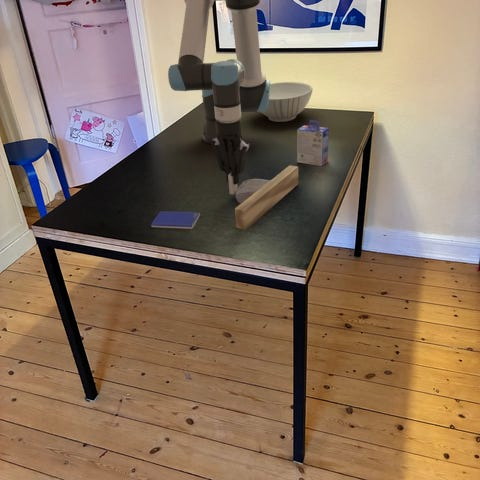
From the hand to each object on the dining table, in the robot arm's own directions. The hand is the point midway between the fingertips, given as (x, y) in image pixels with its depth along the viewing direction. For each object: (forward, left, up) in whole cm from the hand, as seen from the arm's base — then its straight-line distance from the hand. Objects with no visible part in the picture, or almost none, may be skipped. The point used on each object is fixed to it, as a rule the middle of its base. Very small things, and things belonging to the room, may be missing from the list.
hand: (233, 192), depth 150 cm
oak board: (+13, 0, -1) cm, 13 cm away
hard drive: (-7, -20, -2) cm, 22 cm away
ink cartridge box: (+11, +34, -2) cm, 36 cm away
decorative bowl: (-23, +74, -2) cm, 77 cm away
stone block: (+5, +3, -2) cm, 6 cm away
